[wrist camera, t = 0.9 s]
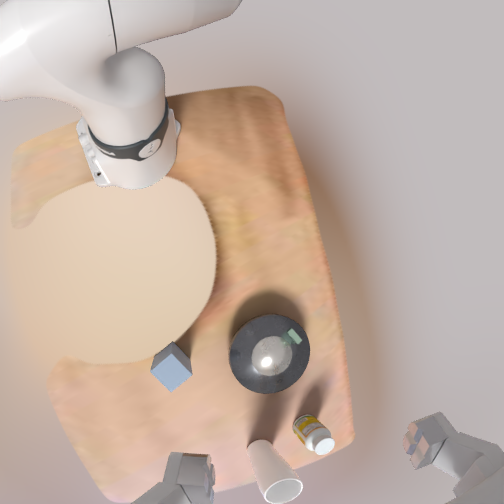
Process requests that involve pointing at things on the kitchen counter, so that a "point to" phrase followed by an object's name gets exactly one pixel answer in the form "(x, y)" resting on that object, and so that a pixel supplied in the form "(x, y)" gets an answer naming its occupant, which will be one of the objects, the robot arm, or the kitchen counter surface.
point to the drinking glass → (273, 473)
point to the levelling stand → (269, 353)
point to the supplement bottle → (313, 434)
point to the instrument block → (171, 367)
